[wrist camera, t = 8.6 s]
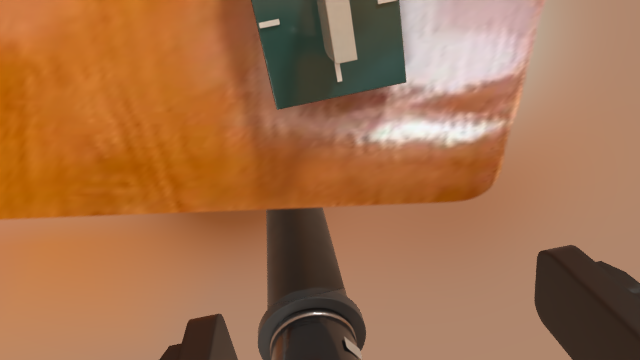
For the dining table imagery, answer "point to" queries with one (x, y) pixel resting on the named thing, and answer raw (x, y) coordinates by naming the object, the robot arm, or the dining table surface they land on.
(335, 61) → the tap handle
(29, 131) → the dining table surface
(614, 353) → the robot arm
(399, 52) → the green switch panel
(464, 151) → the dining table surface
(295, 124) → the dining table surface
